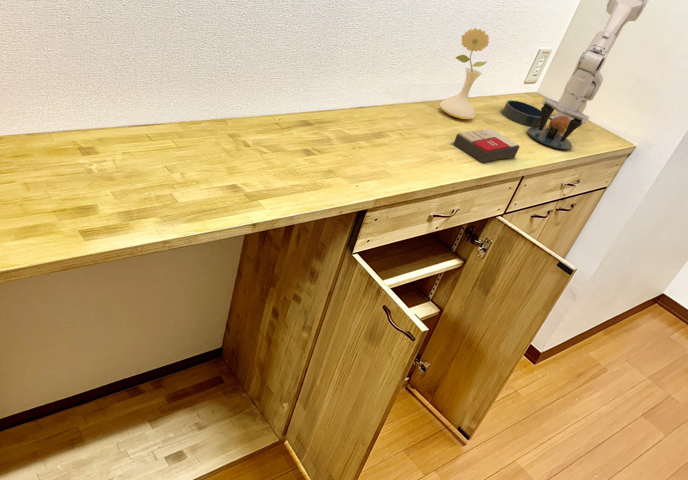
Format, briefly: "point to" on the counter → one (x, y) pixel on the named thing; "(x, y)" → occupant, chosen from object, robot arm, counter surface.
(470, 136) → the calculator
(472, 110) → the flower in vase
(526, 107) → the pot
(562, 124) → the orange capsule
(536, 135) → the pot lid
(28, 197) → the counter surface
